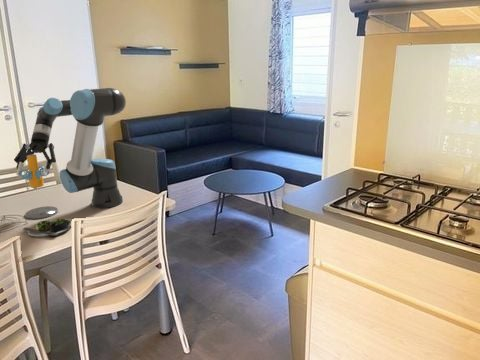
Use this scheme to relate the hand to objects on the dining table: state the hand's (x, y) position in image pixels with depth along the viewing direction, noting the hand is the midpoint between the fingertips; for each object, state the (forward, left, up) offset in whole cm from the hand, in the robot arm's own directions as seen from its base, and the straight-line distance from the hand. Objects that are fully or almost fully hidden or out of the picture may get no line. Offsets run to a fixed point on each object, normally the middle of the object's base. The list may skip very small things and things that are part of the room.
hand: (31, 175), depth 177 cm
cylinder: (+1, -3, -6) cm, 7 cm away
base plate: (+1, -2, -20) cm, 20 cm away
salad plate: (-19, +10, -21) cm, 30 cm away
